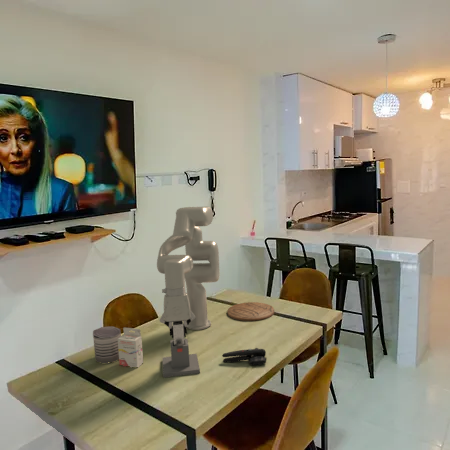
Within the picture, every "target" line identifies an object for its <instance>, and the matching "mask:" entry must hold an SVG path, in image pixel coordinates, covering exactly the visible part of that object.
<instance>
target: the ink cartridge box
mask: <svg viewBox="0 0 450 450" xmlns="http://www.w3.org/2000/svg"><path fill="white" fill-rule="evenodd" d="M122 329H123V334H121V337H119V338H118V350H119V360H118V362H119V366H120V365H123V366H122V367H126V366H130V367H129V368H132V367H138V368H140V366H141V365H143V364H144V356H143V355H144V354H143V352H144V351H143V342H142V333H141V329H140V328H135V327H134V328H132V327H123V328H122ZM142 363H143V364H142Z"/></svg>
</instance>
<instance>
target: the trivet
mask: <svg viewBox="0 0 450 450" xmlns="http://www.w3.org/2000/svg"><path fill="white" fill-rule="evenodd" d="M274 314H275V308H274V307H273V306H272V305H270V304H267V303H264V302H257V301H254V302H253V301H251V302H250V301H249V302H242V303H241V302H240V303H236V304H234V305H231V306H230V307H229V308H227V316H228V317H229V318H230V319H233V320H236V321H240V322H241V321H242V322H256V321H257V322H258V321H262V320H268V319H270V318H272V317H273V316H274Z"/></svg>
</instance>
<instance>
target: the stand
mask: <svg viewBox="0 0 450 450" xmlns="http://www.w3.org/2000/svg"><path fill="white" fill-rule="evenodd" d="M184 344H185V345H183V343H179V344H176V346H174V339H170V354H171V356H162V378H163V377H164V378H170V377H171V376H172V377H178V376H179V377H180V376H187V375H188V376H189V375H196V374H201V368H200V364H199V360H198V354H197V353H191V354H190V351H189V341H188V338H184ZM172 377H171V378H172Z"/></svg>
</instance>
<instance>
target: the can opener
mask: <svg viewBox="0 0 450 450" xmlns="http://www.w3.org/2000/svg"><path fill="white" fill-rule="evenodd" d="M266 354H267V353H266V350H265V349H264V348H258V347H255V348H253V349H252V348H248V349H241V350H234V351H229V352H223V353H222V355H221V356H222V357H223V360H222V361H223V362H224V363H236V362H237V363H238V362H242V361H248V363H249V365H250V366H261V365H262V366H263V365H264V364H266V363H267V357H266Z"/></svg>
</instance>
